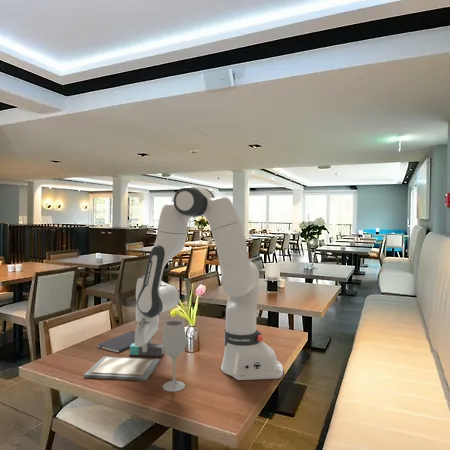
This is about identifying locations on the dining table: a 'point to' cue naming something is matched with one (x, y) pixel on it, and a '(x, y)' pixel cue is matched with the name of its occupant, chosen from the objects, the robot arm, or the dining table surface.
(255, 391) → the dining table surface
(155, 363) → the notepad
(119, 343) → the notebook
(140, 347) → the marker
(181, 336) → the wineglass
